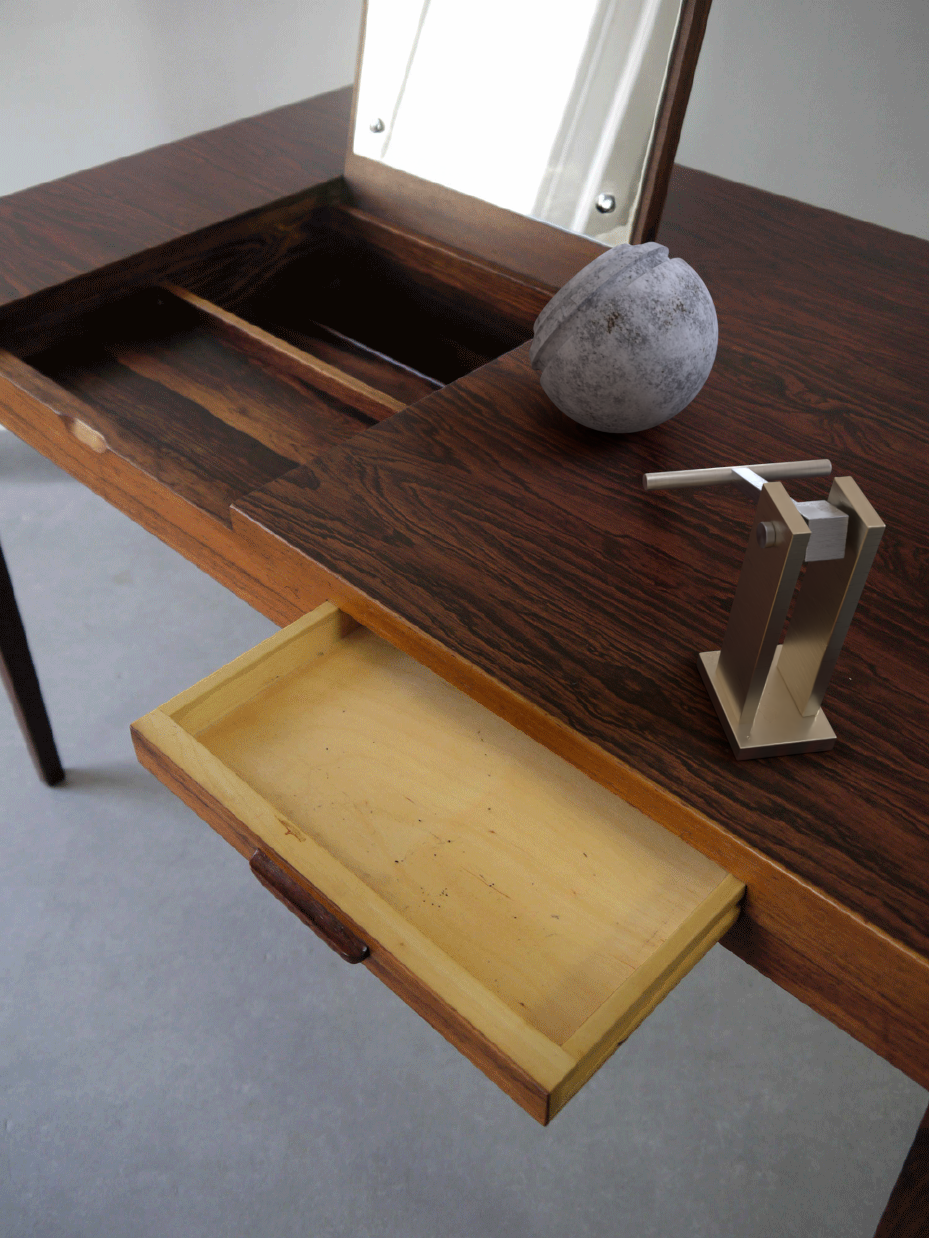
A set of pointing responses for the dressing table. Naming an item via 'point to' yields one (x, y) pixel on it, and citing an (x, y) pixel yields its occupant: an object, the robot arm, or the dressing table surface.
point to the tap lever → (749, 479)
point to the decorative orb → (626, 340)
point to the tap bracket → (802, 666)
